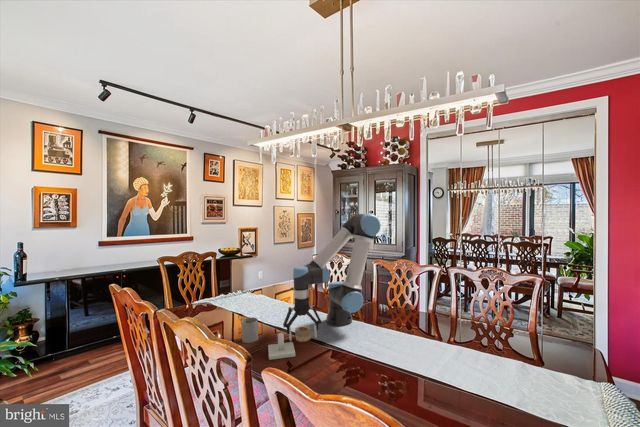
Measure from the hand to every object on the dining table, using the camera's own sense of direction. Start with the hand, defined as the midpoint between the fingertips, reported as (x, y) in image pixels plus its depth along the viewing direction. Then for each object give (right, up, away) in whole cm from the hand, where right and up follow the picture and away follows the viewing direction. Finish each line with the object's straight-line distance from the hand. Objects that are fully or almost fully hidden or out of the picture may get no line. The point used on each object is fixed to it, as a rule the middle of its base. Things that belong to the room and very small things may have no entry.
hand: (303, 338), depth 158 cm
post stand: (-9, -1, -14) cm, 17 cm away
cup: (-28, -2, +2) cm, 28 cm away
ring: (0, 0, 0) cm, 0 cm away
